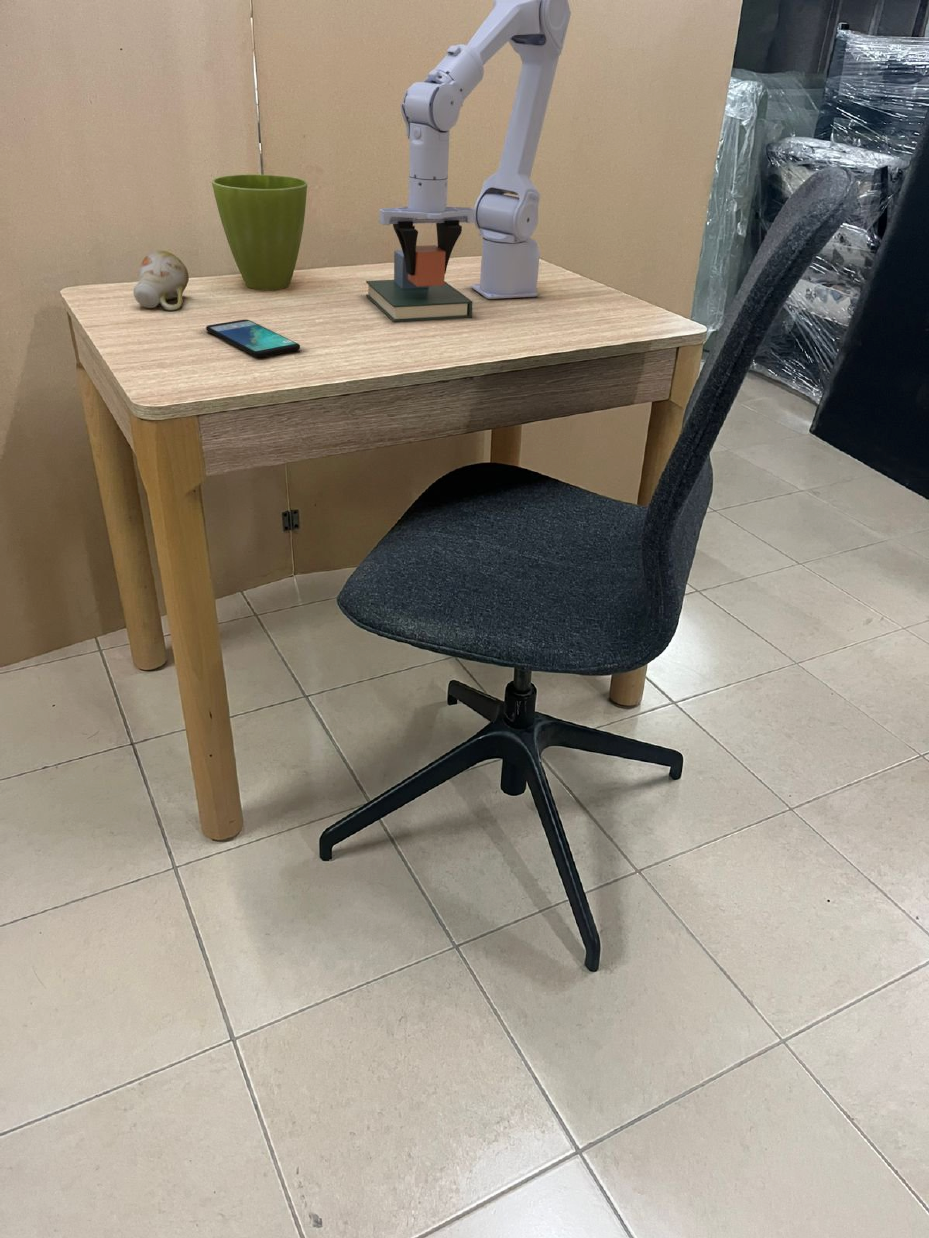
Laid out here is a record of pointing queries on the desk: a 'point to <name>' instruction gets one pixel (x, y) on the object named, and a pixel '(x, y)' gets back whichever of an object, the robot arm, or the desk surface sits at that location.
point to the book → (418, 302)
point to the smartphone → (253, 338)
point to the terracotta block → (428, 266)
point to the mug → (161, 280)
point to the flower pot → (262, 225)
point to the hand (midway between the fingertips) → (425, 273)
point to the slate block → (402, 272)
